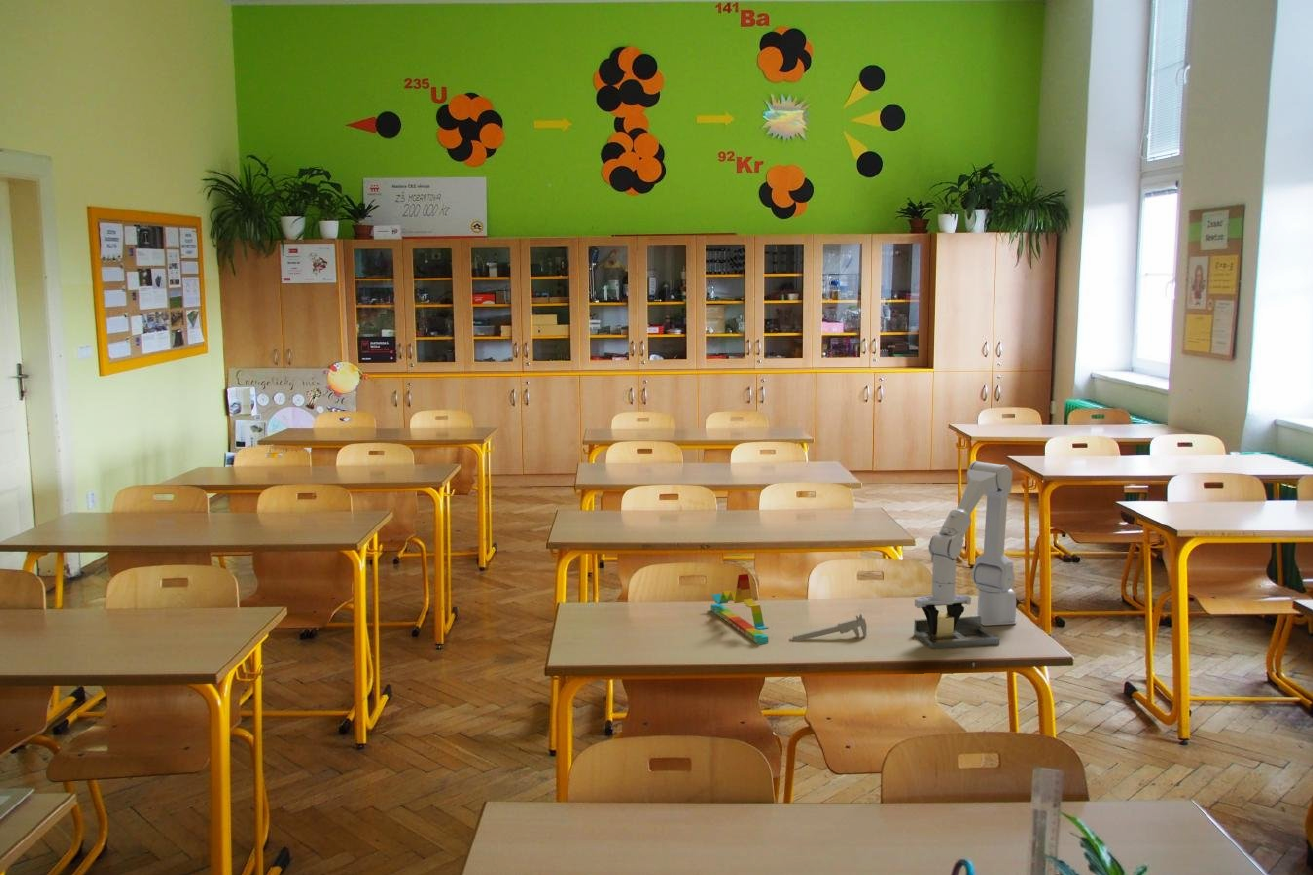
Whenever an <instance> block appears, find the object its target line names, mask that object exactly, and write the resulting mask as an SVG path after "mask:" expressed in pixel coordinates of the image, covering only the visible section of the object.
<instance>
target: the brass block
mask: <svg viewBox="0 0 1313 875" xmlns="http://www.w3.org/2000/svg"><path fill="white" fill-rule="evenodd" d="M953 633H954V617H953V616H951V615H949V614H948V613H947V611H945V612H939V613H938V617H937V623H936V634H935V635H933V634H931V633H930V632H929V636H930V637H931V638H933V639H934V640H948V639H953Z"/></svg>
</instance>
